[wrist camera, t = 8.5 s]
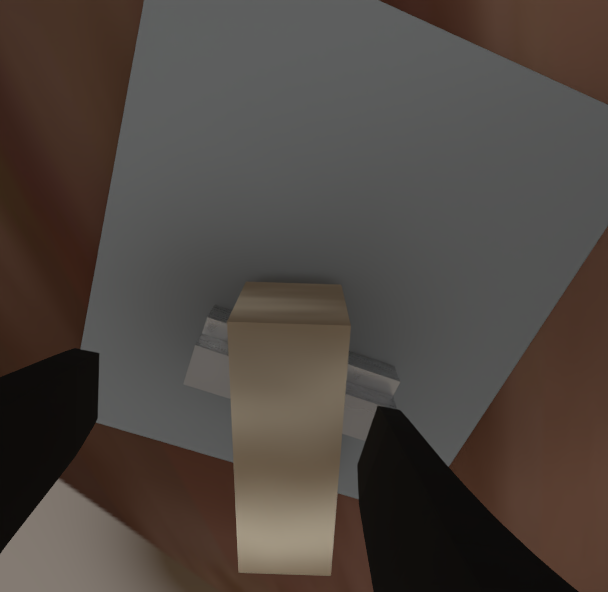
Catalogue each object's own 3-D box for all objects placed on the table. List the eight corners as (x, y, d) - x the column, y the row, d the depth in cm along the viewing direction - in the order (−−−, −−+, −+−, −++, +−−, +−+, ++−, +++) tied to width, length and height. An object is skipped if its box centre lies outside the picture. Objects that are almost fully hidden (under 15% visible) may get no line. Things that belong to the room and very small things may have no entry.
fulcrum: (394, 366, 21) (406, 396, 18) (364, 422, 22) (371, 458, 19) (214, 304, 19) (200, 328, 17) (194, 368, 21) (178, 399, 18)
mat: (656, 133, 17) (669, 132, 16) (413, 507, 25) (416, 516, 25) (167, -89, 14) (161, -99, 14) (74, 407, 23) (68, 414, 22)
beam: (326, 497, 20) (330, 575, 17) (251, 495, 20) (238, 572, 17) (341, 284, 16) (351, 325, 12) (245, 281, 16) (226, 321, 12)
